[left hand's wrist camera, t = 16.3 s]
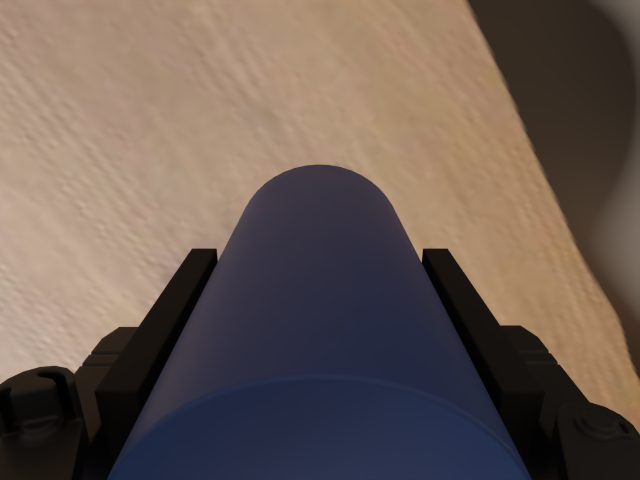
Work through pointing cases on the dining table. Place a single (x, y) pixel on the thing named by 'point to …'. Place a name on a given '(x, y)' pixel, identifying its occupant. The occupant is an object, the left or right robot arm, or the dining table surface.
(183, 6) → the dining table surface
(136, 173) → the dining table surface
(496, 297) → the dining table surface
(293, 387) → the canister
